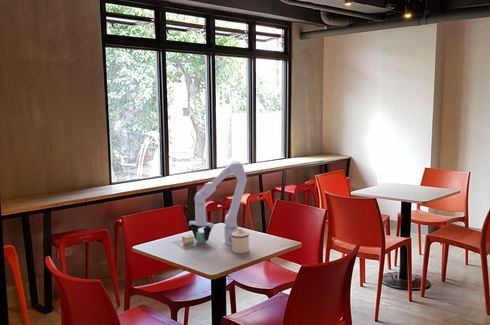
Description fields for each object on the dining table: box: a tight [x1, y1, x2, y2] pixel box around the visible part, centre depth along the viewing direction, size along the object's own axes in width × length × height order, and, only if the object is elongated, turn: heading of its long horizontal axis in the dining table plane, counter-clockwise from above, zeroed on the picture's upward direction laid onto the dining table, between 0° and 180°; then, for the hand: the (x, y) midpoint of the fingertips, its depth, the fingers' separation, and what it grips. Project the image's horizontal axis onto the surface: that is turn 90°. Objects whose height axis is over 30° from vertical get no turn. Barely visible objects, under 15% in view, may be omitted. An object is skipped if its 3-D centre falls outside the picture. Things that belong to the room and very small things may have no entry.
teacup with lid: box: [229, 227, 250, 254], centre depth 234 cm, size 12×9×12 cm
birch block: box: [181, 234, 194, 247], centre depth 244 cm, size 4×4×5 cm
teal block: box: [196, 230, 207, 243], centre depth 248 cm, size 4×4×5 cm
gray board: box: [171, 237, 218, 252], centre depth 247 cm, size 20×18×1 cm
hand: (201, 239), depth 248 cm, fingers closed on teal block, 6 cm apart
